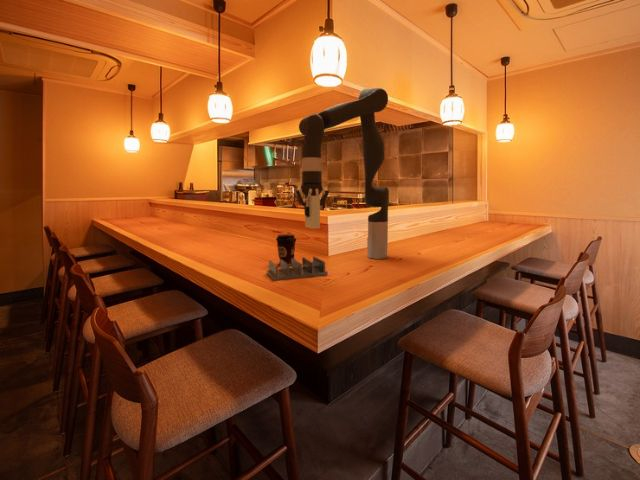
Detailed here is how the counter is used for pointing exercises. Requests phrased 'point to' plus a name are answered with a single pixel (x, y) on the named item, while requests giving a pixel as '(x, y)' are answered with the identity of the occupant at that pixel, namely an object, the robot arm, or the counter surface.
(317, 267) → the dish rack
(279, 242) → the coffee cup
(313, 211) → the tall cream pillar
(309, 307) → the counter surface
